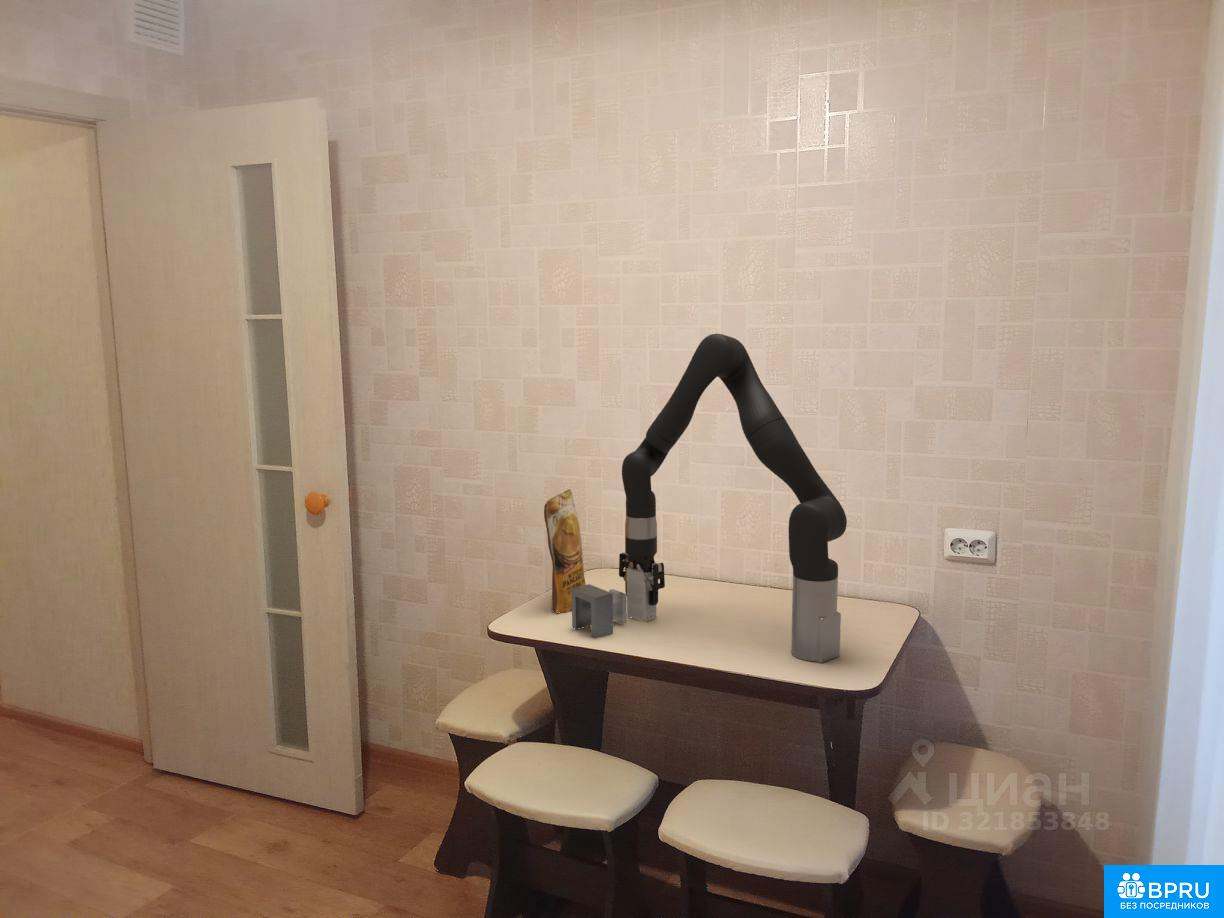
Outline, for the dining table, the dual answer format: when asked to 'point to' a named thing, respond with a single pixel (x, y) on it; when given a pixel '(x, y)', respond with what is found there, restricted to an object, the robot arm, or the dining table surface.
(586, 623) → the grey hollow block
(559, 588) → the pancake mix bag
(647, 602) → the skincare box
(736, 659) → the dining table surface
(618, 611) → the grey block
